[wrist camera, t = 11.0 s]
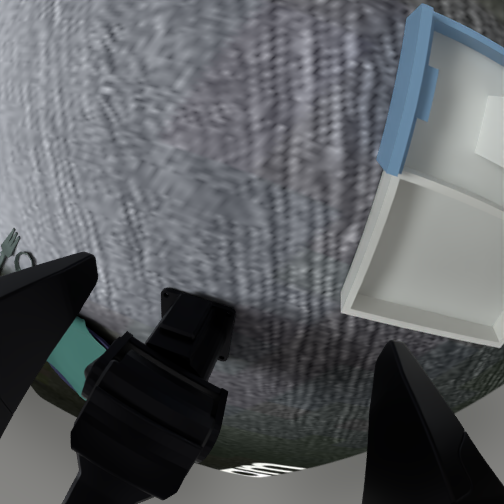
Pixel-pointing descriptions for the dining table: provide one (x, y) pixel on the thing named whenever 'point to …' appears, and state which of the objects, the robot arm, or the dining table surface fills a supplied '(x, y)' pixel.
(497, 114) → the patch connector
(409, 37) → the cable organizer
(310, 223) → the dining table surface
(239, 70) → the dining table surface
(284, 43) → the dining table surface
